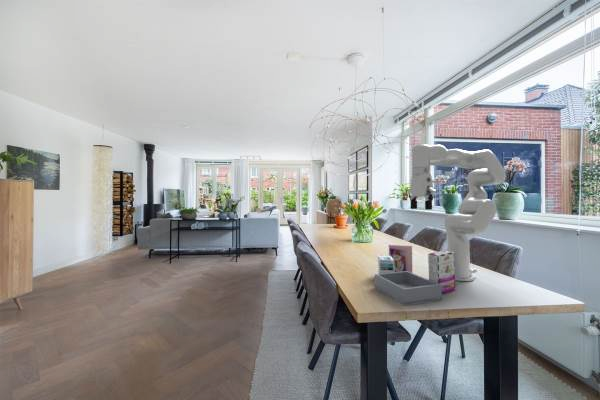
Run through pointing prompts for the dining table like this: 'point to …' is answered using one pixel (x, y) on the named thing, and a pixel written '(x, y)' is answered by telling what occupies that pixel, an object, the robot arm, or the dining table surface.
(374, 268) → the dining table surface
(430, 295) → the tray
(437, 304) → the dining table surface
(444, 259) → the candy bar box
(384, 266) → the light bulb box
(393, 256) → the pink printed box
